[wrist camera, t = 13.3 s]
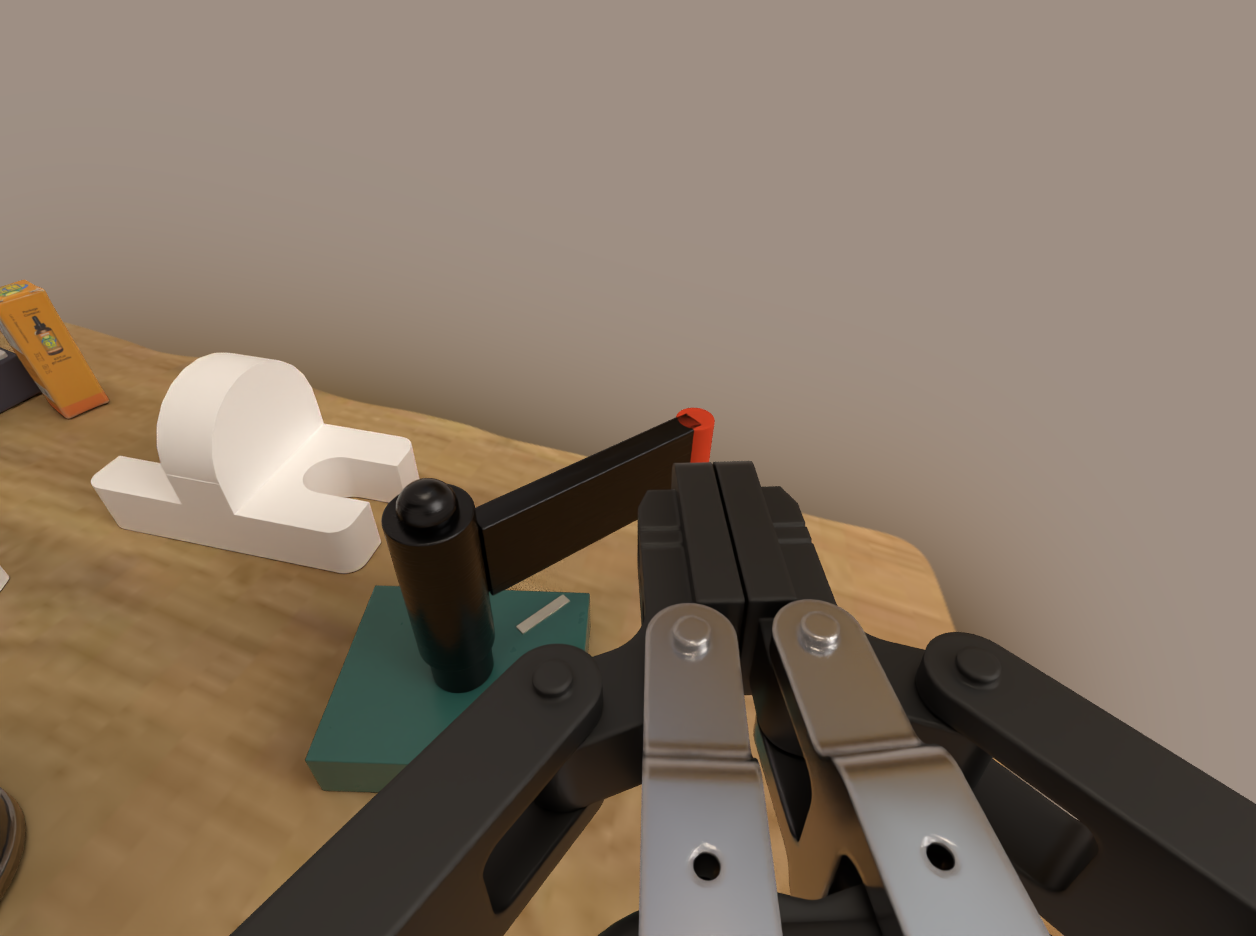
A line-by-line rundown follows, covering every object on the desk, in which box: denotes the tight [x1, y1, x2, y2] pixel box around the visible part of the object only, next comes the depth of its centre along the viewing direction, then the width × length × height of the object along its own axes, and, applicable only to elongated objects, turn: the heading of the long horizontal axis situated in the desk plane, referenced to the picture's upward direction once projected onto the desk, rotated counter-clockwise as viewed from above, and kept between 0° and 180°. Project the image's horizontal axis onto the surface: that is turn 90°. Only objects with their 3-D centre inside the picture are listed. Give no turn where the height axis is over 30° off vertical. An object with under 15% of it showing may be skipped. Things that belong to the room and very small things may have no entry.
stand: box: [305, 586, 590, 792], centre depth 34 cm, size 12×10×5 cm
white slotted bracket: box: [91, 353, 419, 573], centre depth 43 cm, size 10×18×11 cm, turn 77°
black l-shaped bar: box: [381, 408, 715, 672], centre depth 32 cm, size 17×4×10 cm, turn 128°
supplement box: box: [0, 280, 109, 419], centre depth 51 cm, size 3×3×10 cm
